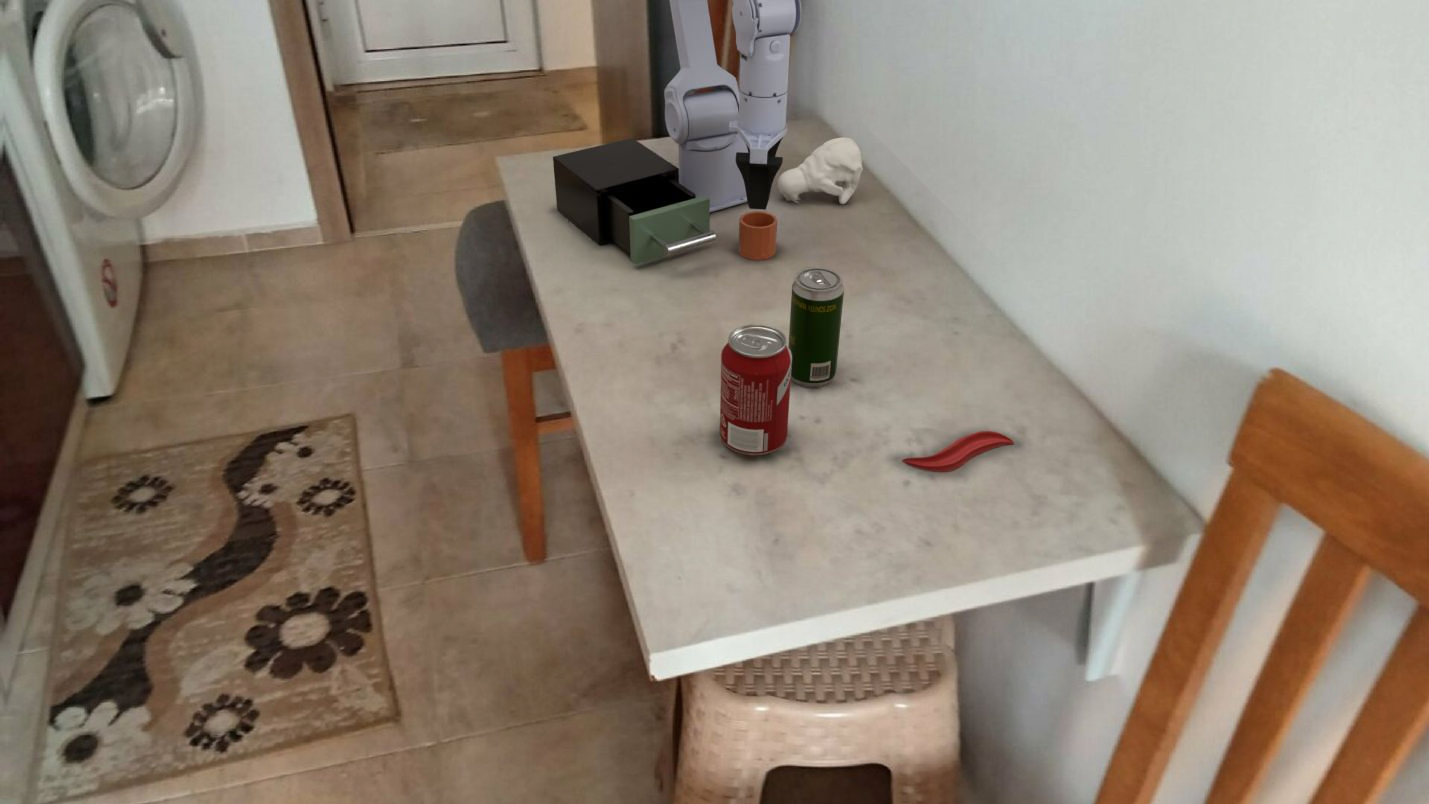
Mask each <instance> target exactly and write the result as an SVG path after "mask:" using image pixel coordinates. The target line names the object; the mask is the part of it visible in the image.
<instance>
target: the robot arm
mask: <svg viewBox="0 0 1429 804" xmlns="http://www.w3.org/2000/svg"><path fill="white" fill-rule="evenodd" d="M731 2H732V3H733V4H732V6H731V16H732V17H731V18H732V22H733V23H732V24H733V26H734V30H735V45H736V50H737V51H738V52H739V54H740V55H739V57H740V58H739V84H738V81H737V77H735V76H734V75H733V74H732V73H730V72H728V71H727V70H725V69H724V68H723V67H722V66H720V65H719V64H718V61H717V55H716V47H715V41H714V35H713V29H712V22H711V17H710V16H711V15H710V10H709V2H708V0H669V6H670V12H671V19H672V25H673V30H674V36H675V37H674V38H675V43H676V49H677V54H678V60H679V67H680V69H679V70H678V72H677V73H676V75H675V76H673V78H672V79H671V80H670V81H669V82H668V84H667V85H666V87H665V88H664V90H663V91H664V93H663V94H664V95H663V96H664V121H665V126H666V130H667V133H668V135H669V137H670V138H671V139H672V141H674V142H675V144H677V145H678V168H679V183H680V184H681V185H683V186H684V187H686V188H687V189H689V190H690V191H692V192H693V193H695V194H696V198H698V197H702V196H706V197H708V198H709V199H710V213H712V212H713V213H714V212H717V211H719V210H724V209H726V208H730V207H734V206H737V205H741V204H744V203H747V205H748V209H749V210H763V211H765V210H767V207H768V204H769V201H770V196H771V191H772V186H773V184H774V180H775V178H776V176H777V174H778V172H779V171H780V169H781V167H782V165H783V161H784V157H783V156H776V155H777V152H778V149H779V146H780V144H781V142H782V140H783V139H784V137H785V136H786V134H787V133H788V124H787V123H786V122H787V104H788V87H789V65H790V49H791V48H790V46H791V35H793V34H795V33H796V32H798V30H799V27H800V25H801V21H802V3H801V0H731ZM738 85H739V86H738ZM707 89H711V90H712V89H713V90H712V91H705V92H697V93H692V94H686V93H687V92H689V93H690V92H695V91H701V90H702V91H703V90H707Z"/></svg>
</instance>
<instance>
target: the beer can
mask: <svg viewBox="0 0 1429 804" xmlns="http://www.w3.org/2000/svg"><path fill="white" fill-rule="evenodd" d="M844 294H845V288H844V284H843V277H842V276H841V275H840V273H838V272H836V271H835V270H832V269H829V268H825V267H807V268H804V269H802V270H800V271H798V272H796V274H795V276H794V281H793V283H792V284H791V297H790V315H789V330H788V344H787V346H788V348H789V349H790V351H791V353H792V368H791V380H792V381H793V382H794V383H795V384H797V385H799V386H802V387H806V388H820V387H825V386H826V385H829V383H831V382H832V381H833V379H834V378H835V376H836V373H837V368H838V358H839V349H840V347H839V346H840V336H841V325H842V315H843V303H844V296H845V295H844Z"/></svg>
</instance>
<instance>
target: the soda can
mask: <svg viewBox="0 0 1429 804" xmlns="http://www.w3.org/2000/svg"><path fill="white" fill-rule="evenodd" d="M787 341H788V340H787V337H786V335H785V334H784V333H783V331H781V330H780V329H779V328H776V327H773V326H771V325H768V324H760V323H751V324H744V325H741V326H739V327H736V328H735V329H733V330H732V331H731V332H730V333H729V335H728V338H727V343H726V344H725V345H724V347H723V348H722V350H721V354H720V396H719V397H720V399H719V400H720V403H719V404H720V405H719V437H720V440H721V442H722V443H723V445H724V446H726V447H727V448H728V449H729V450H731V451H733V452H736V453H738V454H741V455H746V456H764V455H768V454H771V453H774V452H776V451H777V450H780V449H781V448H782V447H783V446H784V445H785V444H786V441H787V439H788V427H789V413H790V410H789V409H790V396H791V382H792V381H791V380H792V379H791V368H792V353H791V351H790V349H789V348H788V344H787Z"/></svg>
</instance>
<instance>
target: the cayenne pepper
mask: <svg viewBox="0 0 1429 804" xmlns="http://www.w3.org/2000/svg"><path fill="white" fill-rule="evenodd" d="M1013 444H1015V442H1014V441H1013V440H1012V439H1011V438H1009V437H1008V436H1006V435H1005V434H1002V433H1000V432H998V431H997V432H996V431H992V430H980V431H976V432H973V433H971V434H968V435H966V436H963V437H960V438H959V439H957V440H955V441H954V442H953V443H951V444H949V446H947V447H945V448H944V449H942V450H941V451H939V452H936V453H935V454H933V455H928V456H923V457H907V458H903V459H902V461H903V463H905V464H907V465H909V466H912V467H914V468H917V469H921V470H925V471H932V472H951V471H954V470H957V469H959V468H960V467H962V466H963V465H964V464H965V463H967V462H968V461H969V460H970V459H972V458H974V457H975V456H977V455H979V454H981V453H984V452H986V451H989V450H991V449H995V448H997V447H1001V446H1005V445H1013Z"/></svg>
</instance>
